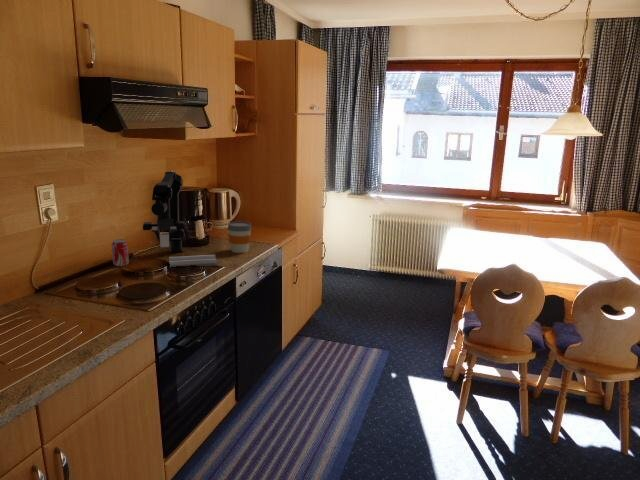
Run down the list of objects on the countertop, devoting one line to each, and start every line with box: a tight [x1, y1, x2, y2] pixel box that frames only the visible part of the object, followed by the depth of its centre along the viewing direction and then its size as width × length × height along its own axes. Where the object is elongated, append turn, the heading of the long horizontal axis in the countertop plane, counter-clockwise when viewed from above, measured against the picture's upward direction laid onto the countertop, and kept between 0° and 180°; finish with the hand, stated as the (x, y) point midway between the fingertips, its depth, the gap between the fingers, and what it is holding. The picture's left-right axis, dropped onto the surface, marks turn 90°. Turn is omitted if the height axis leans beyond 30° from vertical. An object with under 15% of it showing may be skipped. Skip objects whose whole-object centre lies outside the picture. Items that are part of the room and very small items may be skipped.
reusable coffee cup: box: [227, 221, 252, 254], centre depth 255 cm, size 13×13×15 cm
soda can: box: [111, 238, 129, 267], centre depth 223 cm, size 7×7×12 cm
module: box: [159, 231, 170, 248], centre depth 224 cm, size 5×4×6 cm
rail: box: [168, 254, 218, 269], centre depth 230 cm, size 10×22×3 cm, turn 108°
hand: (164, 243), depth 225 cm, fingers closed on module, 4 cm apart
